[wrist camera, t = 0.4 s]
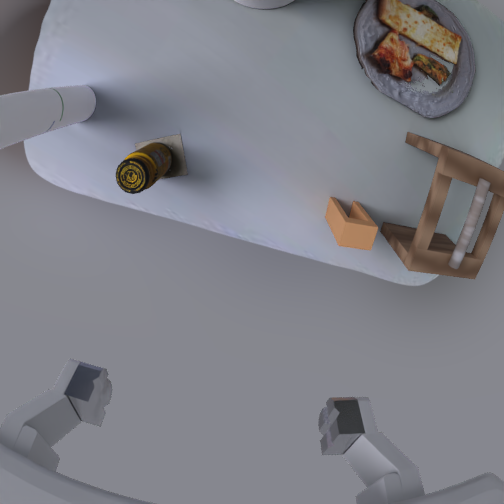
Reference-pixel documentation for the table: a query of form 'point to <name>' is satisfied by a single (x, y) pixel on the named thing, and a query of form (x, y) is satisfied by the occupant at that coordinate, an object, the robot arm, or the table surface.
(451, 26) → the food plate
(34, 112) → the cylindrical container
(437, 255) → the wooden slider frame
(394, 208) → the table surface
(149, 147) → the condiment
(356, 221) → the orange forked block
